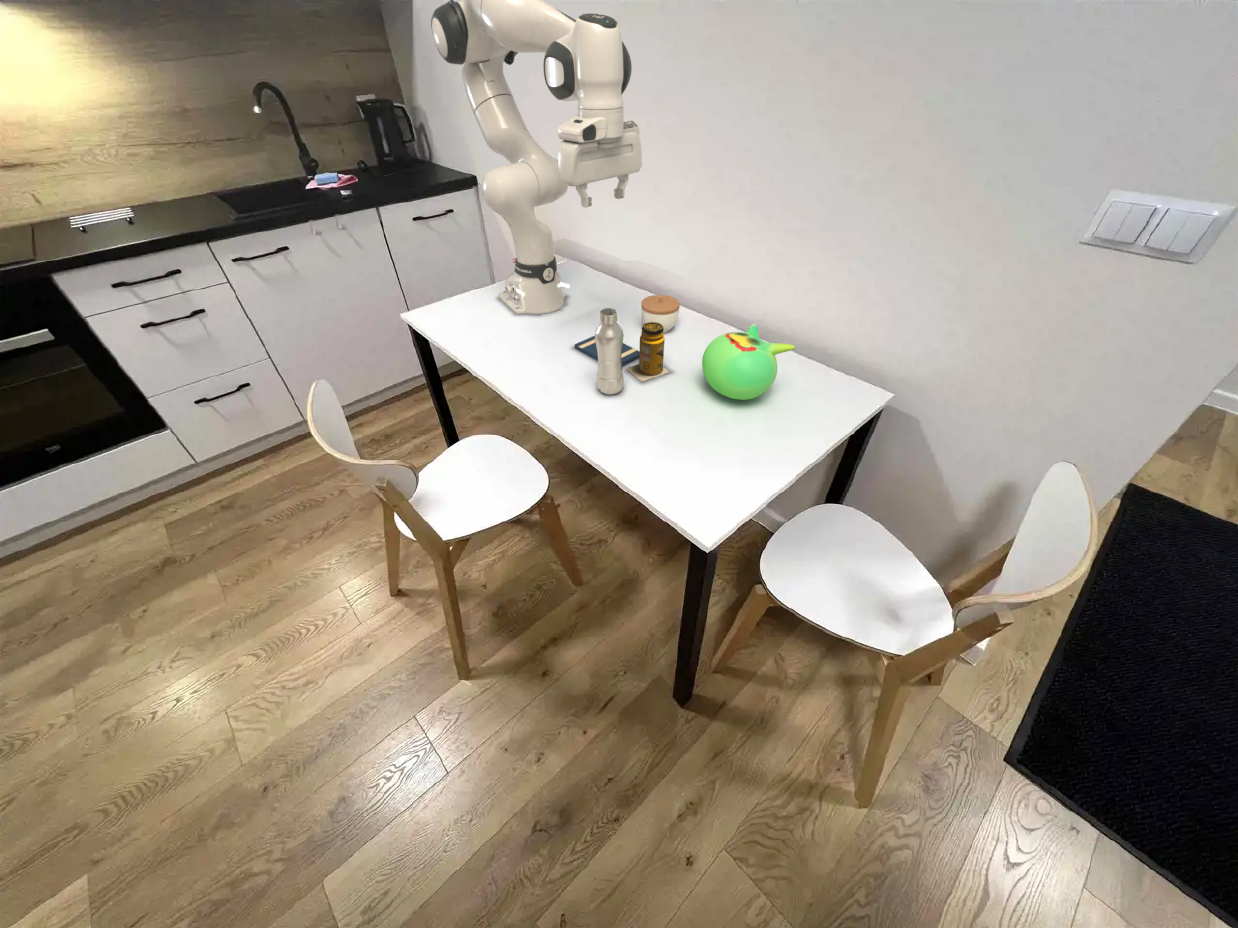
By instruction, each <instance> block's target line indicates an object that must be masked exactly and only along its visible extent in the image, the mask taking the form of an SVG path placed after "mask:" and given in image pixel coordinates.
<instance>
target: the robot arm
mask: <svg viewBox="0 0 1238 928" xmlns="http://www.w3.org/2000/svg"><path fill="white" fill-rule="evenodd" d="M430 26H431V28H430V29H431V33H432V38H433V41H434V44H435V47H436V49H437V51H438V53H439V56H441V57H442V59H443V60H444V61H445V62H446V63H448V64H451V65H461V66H462V69H461V77H462V82H463V86H464V90H465V93H466V97H467V100H468V102H469V105H470V108H471V110H472V113H473V115H474V118H475V120H476V122H477V125H478V127H479V129H480V132H481V134H482V136H483V138H484V141H485V143H486V145H487V147H488V148H489V149H490V150H491V151H492V152H493V153H495V154H497V155H500V156H502V157H504V158H505V159H506V160H507V161H508V162H509V164H504V165H499V166H497V167H495V168H493V169H491V170H490V171H488V172H486V173H485V174H484V175H483V178H482V182H481V192H482V196H483V200H484V201H485V203H486V204H487V206H488V207H489V208H490V209H491V210H492V211H493V212H494V213H496V214H498V215H499V216H500V217H501V218H502V219H503V220H504V221H505V222H506V224H507V225H508V228H509V230H510V233H511V236H512V241H513V245H514V251H515V258H512V263H513V264H514V270H513V271H512V272H511V274H509V275H508V276H507V277H506V278H505V280H504V288H505V289H504V290H503V291H502V292H500V294H499V295H498V297H499V299H500V300H501V301H502V302H503V303H504V304H505V305H506V306H507V307H508V308H509V309H510V310H511V311H512V312H514V314H516V315H523V314H529V315H543V314H548V313H549V314H550V313H553V312H556V311H558V310H560V309H562V308H563V306H564V304H565V301H564V300H565V299H566V296H567V295H566V292H563V287H564V288H567V289H569V288H570V284H567V283H564V282H561V276H560V273H559V272H558V271H557V270H558V267H557V265H558V262H557V259H556V256H555V251H554V242H553V241H554V240H553V233H552V230H551V228H550V227H549V226H548V225H547V224H546V223H545V222H543V221H541V220H538V219H537V217H536V214H535V208H537V207H540V206H544V205H548V204H552V203H554V202H556V201H557V200H560V199H561V198H562V197H563V196H565V194H567V192H568V189H569V187H575V190H576V191H577V193H578V196H579V197H580V205H581V207H583V208H584V209H585V208H589V207H592V205H593V203H592V201H593V199H592V196H589V195H588V193H587V190H588V184H591V183H596V182H600V181H605V180H608V179H612V178H617V180H618V182H617V186H616V188H614V189H613V196H614V199H618V200H620V199H621V200H622V199H624V198H625V189H626V187H627V185H628V182H629V176H630V175H631V174H634V173H639V172H640V171H641V168H642V166H643V157H642V143H641V138H640V127H639V125H638V124H637V123H636V122H635V121H634V120H627V121H624V100H623V94H624V92H625V91H626V89H627V87H628V85H629V83H630V82H631V81H630V80H631V77H632V70H633V67H632V60H631V56H630V53H629V50H628V48H627V47H626V44H625V43H624V41H623V40H622V33H621V28H620V24H619V23H618V21H617V20H616V19H615V18H613V17H612V16H610V15H605V14H598V13H582V14H581V15H578V16H577V18H576V19H574V18H573V17H572V16H570V15H568V14H566V13H564V12H563V11H561V10H559V9H557V8H556V7H554V6H553V5H552V4H550V3H548V2H546V0H458V1H457V0H456V1H455V0H448V1H447V2H445V3H444V4H441V5H440V6H438V7H437V8H435V10H433V13H432V16H431V18H430ZM529 53H533V54H534V53H537V54H538V53H544V58H543V76H544V81H545V85H546V86H547V89H548V90H549V92H550V93H551V95H552V96H553V97H554V98H555V99H556V100H558V101H562V102H576V101H577V113H576V114H575V115H573V116H572V117H571V118H570V119H568V120H567V121H565V122H564V123H562V124H561V125H559V126H558V128H557V135H558V138H559V139H560V140H562V141H561V142H560V143H559V144H558V145H559V146H558V149H557V150H558V151H557V158H555V157H553V156H552V155H550V154H549V153H548V152H546V151H545V150H544V148H542V146H541V145H539V144H538V142H537V141H536V139H535V138H534V137H533V136H532V134H531V133H530V131H529V129H528V128H527V126H526V124H525V121H524V119H523V117H522V115H521V113H520V109H519V108H518V106H517V103H516V101H515V98H514V96H513V93H512V90H511V89H510V86H509V84H508V82H507V79H506V77H505V74H504V64H506V65H509V66H511V65H513V64H514V62H515V57H516V56H517V55H518V54H529Z"/></svg>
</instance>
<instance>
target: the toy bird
mask: <svg viewBox="0 0 1238 928" xmlns="http://www.w3.org/2000/svg"><path fill="white" fill-rule="evenodd" d="M795 349H796V346H795V345H793V344H790V343H777V342H765V341H764V340H763V339H761V338H760V334H759V329H758V326H757V324H756V323H752V324H750V326H749V328H748V329H747V331H745V332H741V331H732V332H731V331H730V332H726V333H722V334H720V335H718V336H717V337H715V338H714V339H713V340H711V341H710V343H708V345H707V346H706V348H705V350H704V352H703V354H702V358H701V359H702V360H701V367H702V373H703V375H704V378H705V380H706V382H707V383H708V384H709V386H710V387H711V388H712V390H714V391H716V392H717V393H718V394H720V395H722V396H724V397H727V398H729V399H733V400H739V401H740V400H741V401H742V400H743V401H745V400H751V399H755V398H758V397H760V396H762V395H763V394H765V393H766V392H768V390H769V389H770V388H771V387H772V385H773V384H774V382H775V381H776V378H777V375H778V359H777V357H776V356H777V355H780V354H783V353H787V352H790V351H793V350H795Z"/></svg>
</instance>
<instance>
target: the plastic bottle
mask: <svg viewBox="0 0 1238 928" xmlns="http://www.w3.org/2000/svg"><path fill="white" fill-rule="evenodd" d="M599 321H600V323H599V324H598V325H597V327H596V329H595V331H594V336H595V341H596V346H597V353H598V361H597V372H596V379H595V383H596V387H597V389H598V390H599V391H600V393H602V394H605V395H616V394H618V393H620V392H621V391H622V389H623V387H624V383H625V380H624V374H623V367H622V366H621V352H622V344H623V343H624V337H625V336H624V330H623V328H622V327H621V326H620V325H619V323H618V311H617V309H614V308H613V307H612V308H611V307H606V308H602V309H600V310H599Z"/></svg>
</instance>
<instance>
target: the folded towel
mask: <svg viewBox="0 0 1238 928" xmlns="http://www.w3.org/2000/svg"><path fill="white" fill-rule="evenodd" d="M574 349H575V350H577V351H579V352H580V353H583V354H584V355H585V356H588V357H589V358H591V359H593V360H595V361H596V362H598V353H597V346H596V341H595V335H592V336H591V337H588V338H586V339H584V340H581V341H578V342H577V343H574ZM639 353H640V350H638V349H637V348H635V347H631V346H630V345H628V344H626V343H624V342H623V344H622V352H621V366H622V368H623V367H625V366H627V365H629V364H630V363H633V362H635V361H637V360H639Z"/></svg>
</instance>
